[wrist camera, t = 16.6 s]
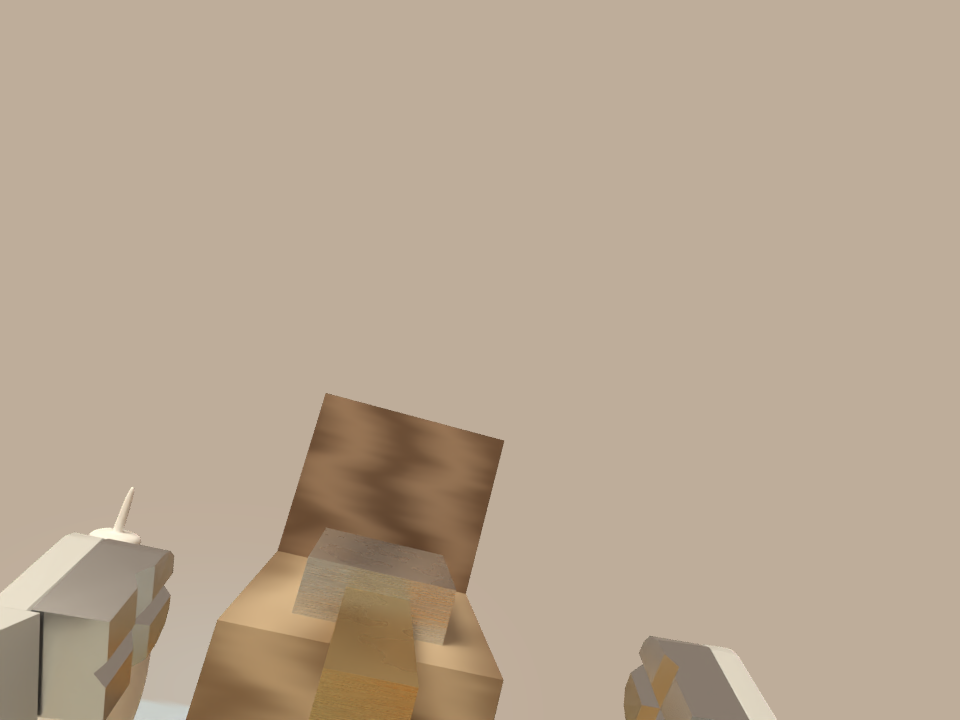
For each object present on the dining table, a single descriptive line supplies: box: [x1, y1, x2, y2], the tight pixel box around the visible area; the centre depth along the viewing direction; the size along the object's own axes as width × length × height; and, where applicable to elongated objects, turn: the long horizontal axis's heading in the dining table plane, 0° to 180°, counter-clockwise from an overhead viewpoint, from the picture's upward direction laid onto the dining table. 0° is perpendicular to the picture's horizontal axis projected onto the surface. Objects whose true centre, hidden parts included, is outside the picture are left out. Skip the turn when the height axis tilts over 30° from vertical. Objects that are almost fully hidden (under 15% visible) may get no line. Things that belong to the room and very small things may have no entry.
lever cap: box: [292, 528, 457, 720], centre depth 25 cm, size 7×16×2 cm, turn 9°
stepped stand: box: [186, 393, 504, 720], centre depth 33 cm, size 12×21×26 cm, turn 9°
